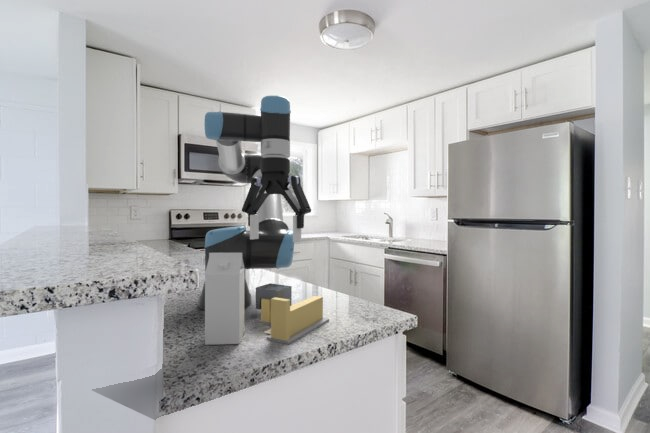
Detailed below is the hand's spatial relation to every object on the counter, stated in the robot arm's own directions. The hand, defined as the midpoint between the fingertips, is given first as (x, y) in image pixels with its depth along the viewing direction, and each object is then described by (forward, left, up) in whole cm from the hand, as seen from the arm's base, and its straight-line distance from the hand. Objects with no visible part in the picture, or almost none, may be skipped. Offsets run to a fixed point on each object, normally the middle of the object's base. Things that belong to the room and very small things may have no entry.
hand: (274, 240), depth 89 cm
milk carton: (-1, -16, -21) cm, 26 cm away
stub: (0, 0, -21) cm, 21 cm away
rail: (+10, -3, -21) cm, 23 cm away
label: (+5, -6, -21) cm, 22 cm away
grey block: (0, 0, -18) cm, 18 cm away
